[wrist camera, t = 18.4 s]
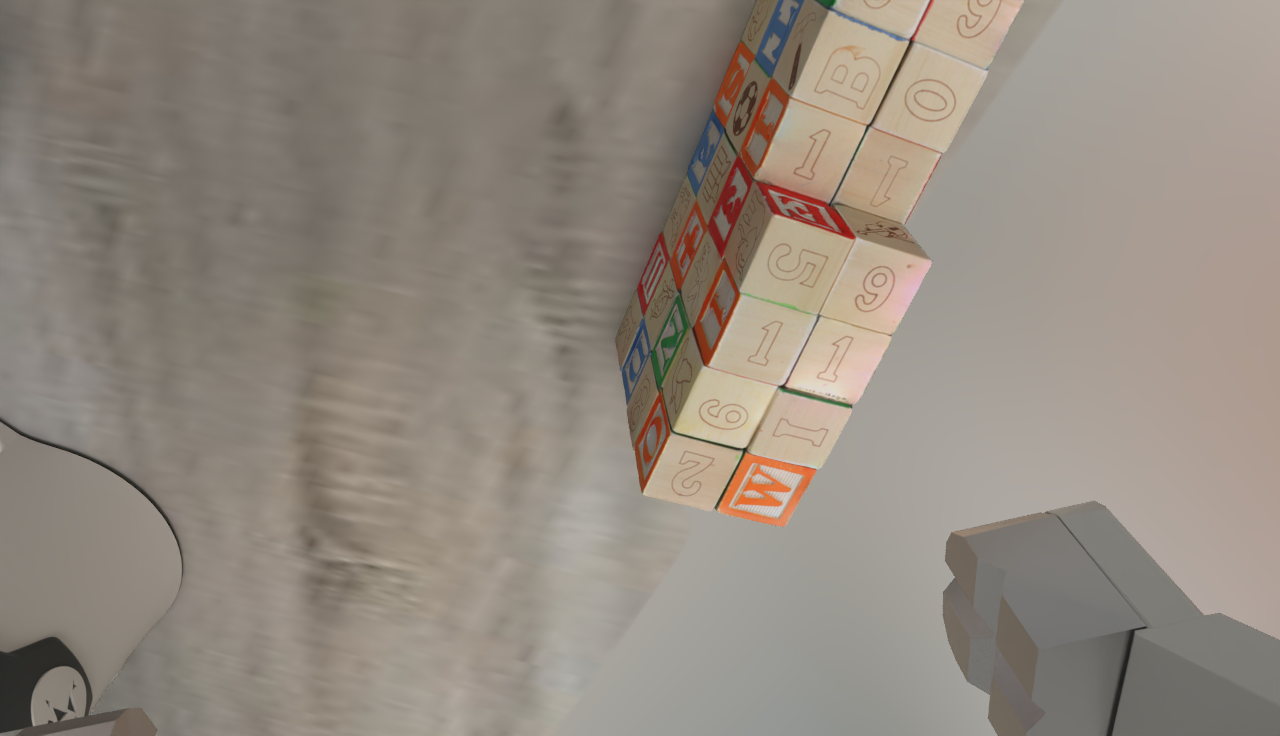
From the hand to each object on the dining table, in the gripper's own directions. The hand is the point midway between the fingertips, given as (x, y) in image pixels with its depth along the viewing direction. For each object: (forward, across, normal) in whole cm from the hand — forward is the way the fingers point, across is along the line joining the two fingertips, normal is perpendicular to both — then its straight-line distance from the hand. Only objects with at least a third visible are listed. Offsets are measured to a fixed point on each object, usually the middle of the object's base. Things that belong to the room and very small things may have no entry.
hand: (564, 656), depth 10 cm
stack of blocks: (+33, -10, +8) cm, 36 cm away
